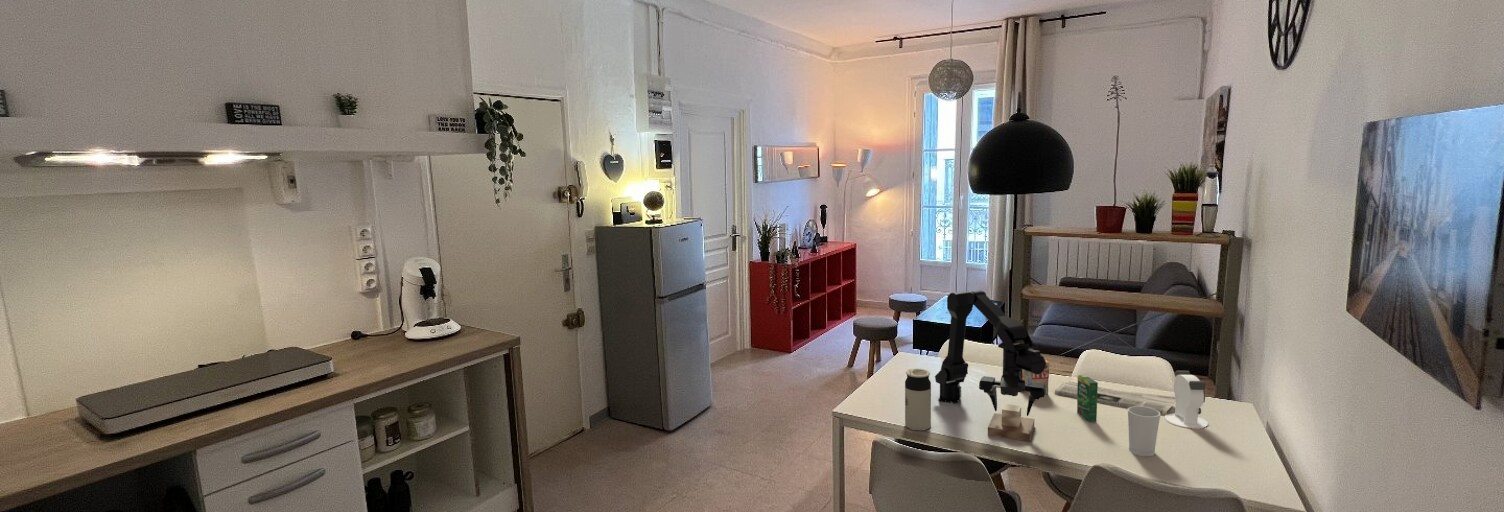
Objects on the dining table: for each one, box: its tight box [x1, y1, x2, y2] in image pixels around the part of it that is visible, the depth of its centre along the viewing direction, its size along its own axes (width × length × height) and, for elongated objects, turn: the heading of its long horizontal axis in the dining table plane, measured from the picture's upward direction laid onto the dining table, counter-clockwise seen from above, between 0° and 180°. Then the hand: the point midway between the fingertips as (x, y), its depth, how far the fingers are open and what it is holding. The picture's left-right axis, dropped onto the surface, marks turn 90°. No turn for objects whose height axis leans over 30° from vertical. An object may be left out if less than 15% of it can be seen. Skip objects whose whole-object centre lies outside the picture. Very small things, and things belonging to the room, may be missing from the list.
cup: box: [1127, 406, 1161, 457], centre depth 187 cm, size 8×8×12 cm
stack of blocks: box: [1022, 357, 1050, 396], centre depth 243 cm, size 21×6×12 cm, turn 1°
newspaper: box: [1054, 381, 1176, 416], centre depth 226 cm, size 35×12×4 cm, turn 50°
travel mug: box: [904, 368, 932, 431], centre depth 210 cm, size 8×8×18 cm
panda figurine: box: [1164, 370, 1209, 430], centre depth 205 cm, size 12×11×15 cm
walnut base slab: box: [987, 412, 1035, 443], centre depth 205 cm, size 12×12×2 cm
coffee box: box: [1076, 374, 1099, 423], centre depth 212 cm, size 8×3×13 cm, turn 0°
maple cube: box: [1001, 403, 1022, 427], centre depth 204 cm, size 5×5×5 cm
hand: (1011, 413), depth 204 cm, fingers open, 9 cm apart
